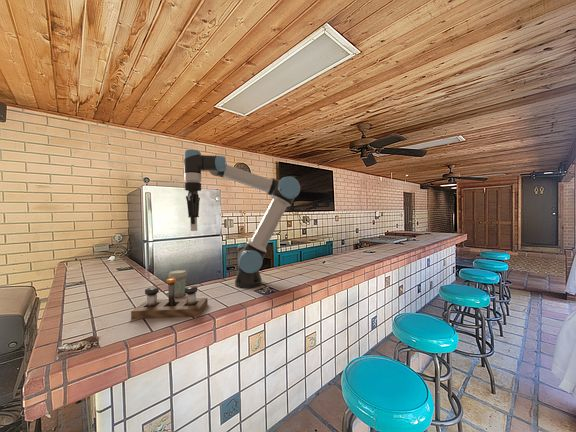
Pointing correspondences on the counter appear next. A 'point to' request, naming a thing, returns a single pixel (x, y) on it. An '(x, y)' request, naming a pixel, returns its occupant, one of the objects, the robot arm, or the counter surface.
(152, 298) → the knob
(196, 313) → the mount board
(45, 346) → the counter surface
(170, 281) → the dark piece
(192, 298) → the knob
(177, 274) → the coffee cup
